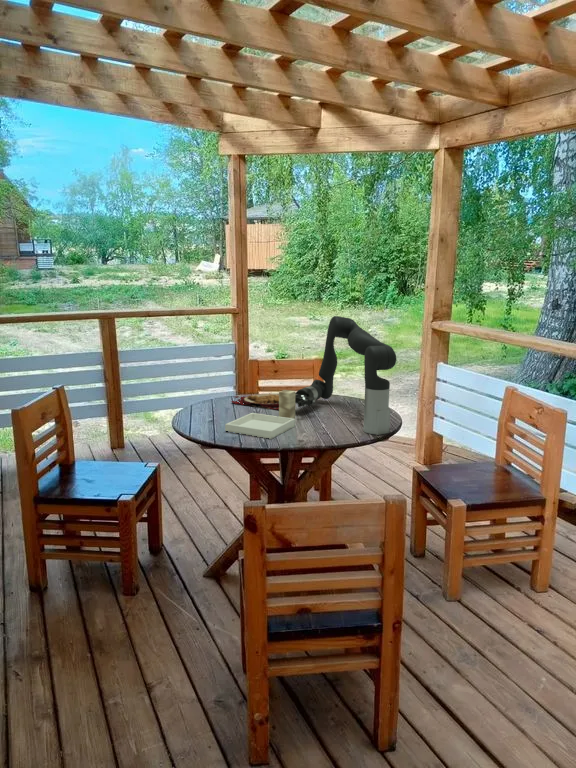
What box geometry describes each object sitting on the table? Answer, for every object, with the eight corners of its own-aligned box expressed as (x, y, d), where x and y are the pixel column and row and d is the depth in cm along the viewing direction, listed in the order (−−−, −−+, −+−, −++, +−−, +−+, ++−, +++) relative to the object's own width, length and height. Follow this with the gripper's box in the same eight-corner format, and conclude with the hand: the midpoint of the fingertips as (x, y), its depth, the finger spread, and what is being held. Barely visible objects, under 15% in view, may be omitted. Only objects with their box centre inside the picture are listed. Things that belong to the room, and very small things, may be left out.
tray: (295, 426, 219) (295, 418, 218) (271, 439, 202) (271, 431, 201) (252, 419, 228) (251, 412, 227) (225, 431, 211) (225, 424, 210)
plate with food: (280, 412, 243) (280, 405, 243) (230, 404, 255) (230, 396, 254) (305, 402, 265) (305, 395, 264) (257, 394, 277) (258, 388, 276)
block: (295, 419, 229) (295, 391, 227) (289, 422, 225) (289, 393, 223) (284, 417, 232) (284, 389, 229) (278, 420, 227) (279, 392, 225)
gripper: (292, 386, 246) (274, 392, 231) (321, 389, 239) (305, 396, 225) (292, 402, 247) (274, 410, 233) (321, 406, 241) (305, 414, 226)
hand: (289, 403), depth 229 cm, fingers open, 8 cm apart
